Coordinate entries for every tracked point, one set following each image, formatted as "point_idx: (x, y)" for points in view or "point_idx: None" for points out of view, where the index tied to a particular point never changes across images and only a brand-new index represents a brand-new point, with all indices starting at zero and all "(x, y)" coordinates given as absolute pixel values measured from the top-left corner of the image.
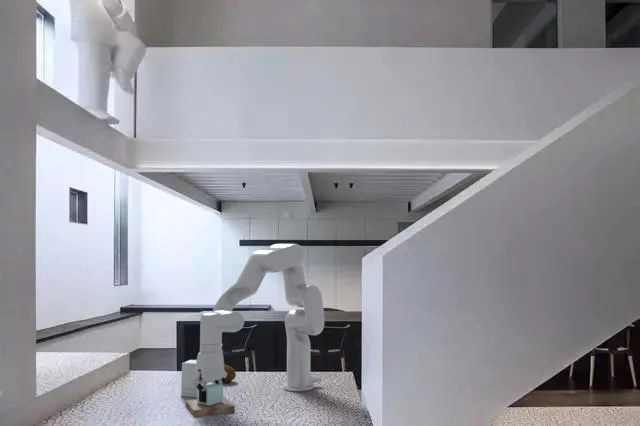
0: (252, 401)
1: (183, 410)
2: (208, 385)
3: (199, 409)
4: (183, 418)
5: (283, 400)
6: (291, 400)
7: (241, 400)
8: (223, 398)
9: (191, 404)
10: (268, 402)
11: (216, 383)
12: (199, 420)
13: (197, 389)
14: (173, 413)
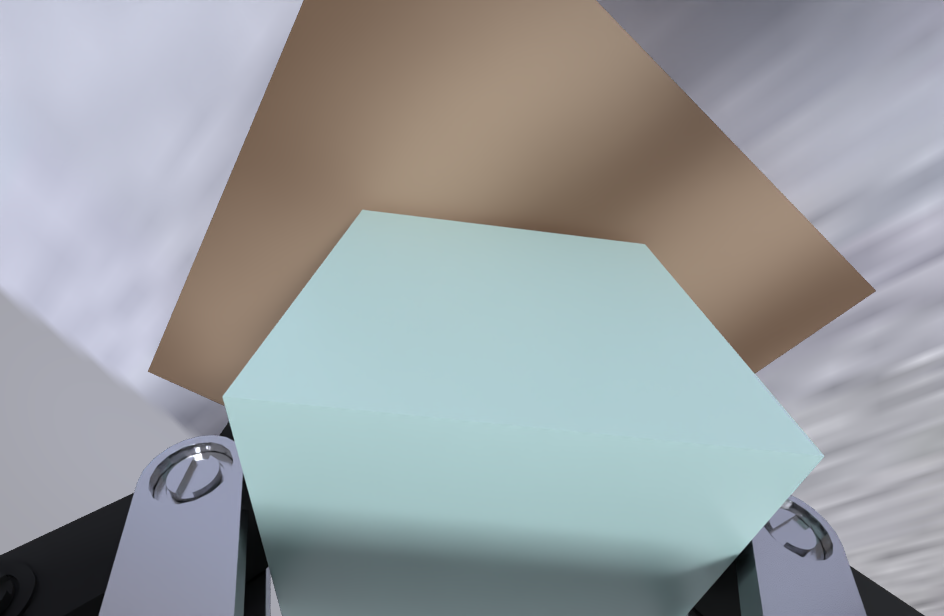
0: (865, 456)
1: (231, 38)
2: (457, 564)
3: (221, 390)
4: (72, 283)
5: (908, 576)
6: (909, 600)
7: (903, 372)
8: (748, 345)
9: (278, 166)
10: (840, 539)
11: (743, 568)
12: (175, 420)
13: (278, 340)
14: (30, 12)
